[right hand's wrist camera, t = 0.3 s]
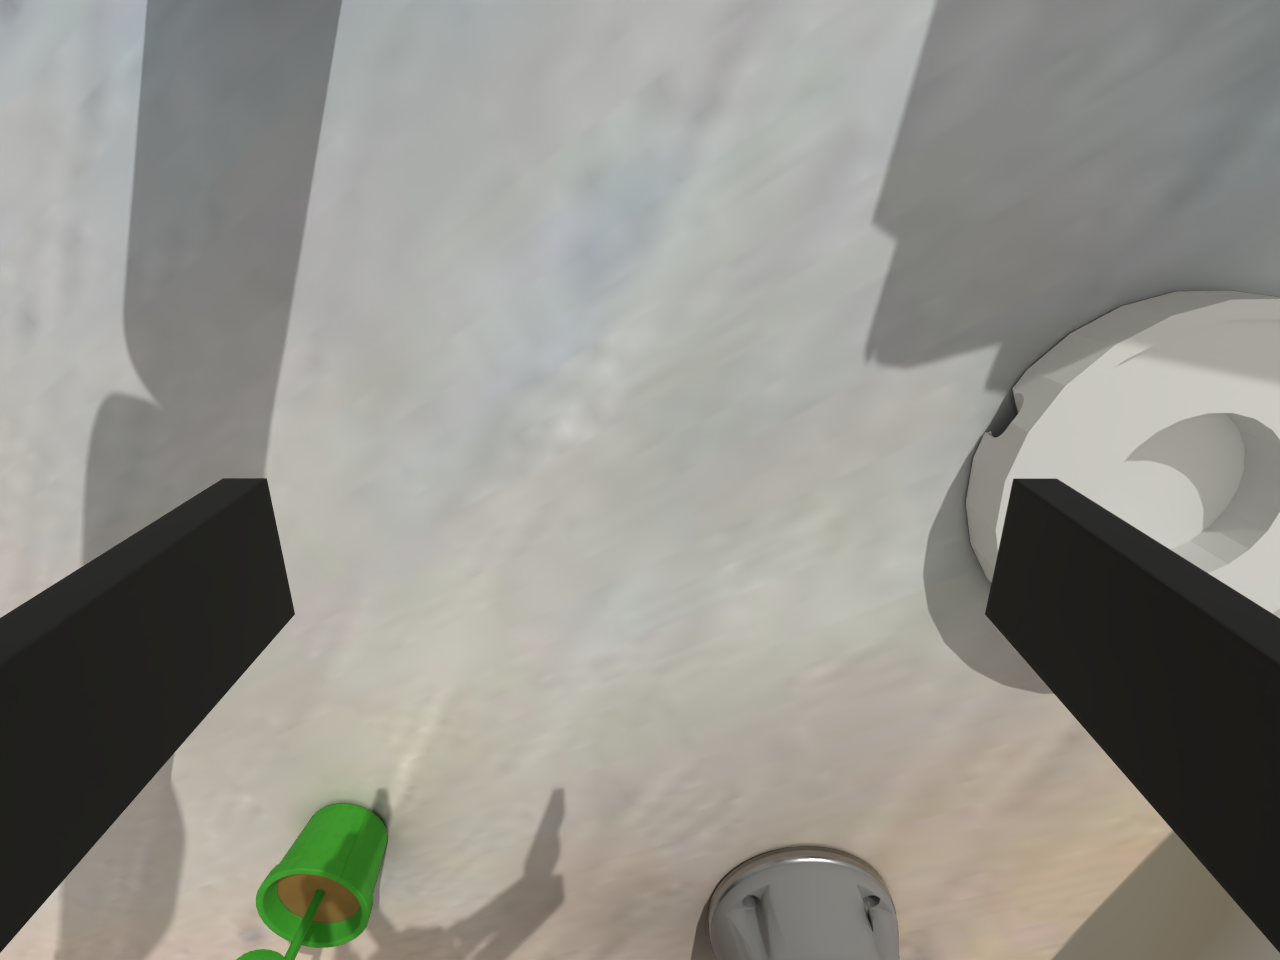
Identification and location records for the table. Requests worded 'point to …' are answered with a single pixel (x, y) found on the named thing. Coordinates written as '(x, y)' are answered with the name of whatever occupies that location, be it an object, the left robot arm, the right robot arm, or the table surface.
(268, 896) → the potted flower
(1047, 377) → the ashtray
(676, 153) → the table surface
